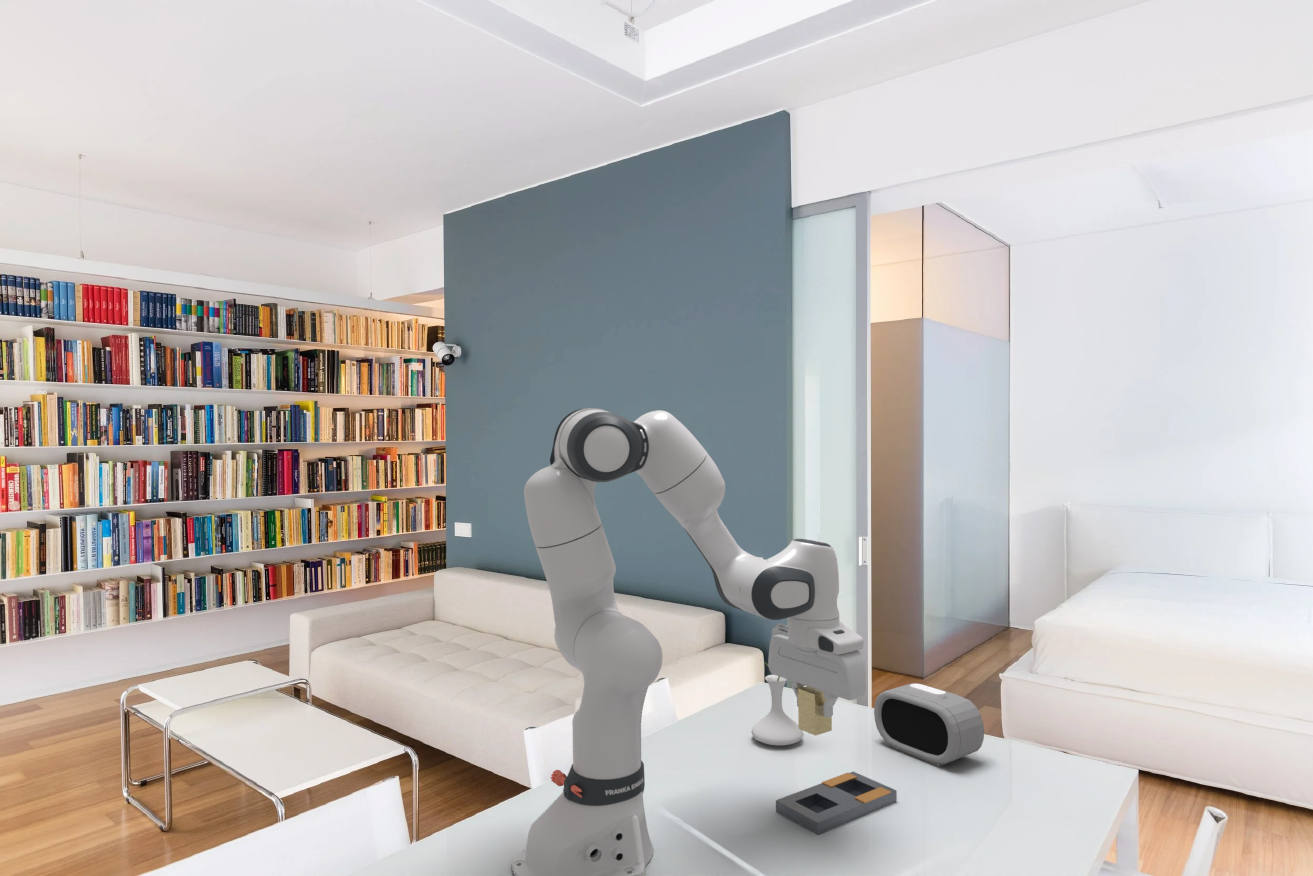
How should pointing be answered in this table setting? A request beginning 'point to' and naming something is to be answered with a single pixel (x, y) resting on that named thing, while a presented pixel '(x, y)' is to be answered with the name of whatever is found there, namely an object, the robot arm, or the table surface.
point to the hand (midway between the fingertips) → (814, 711)
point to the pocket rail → (835, 802)
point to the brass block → (812, 711)
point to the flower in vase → (777, 719)
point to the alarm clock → (929, 723)
